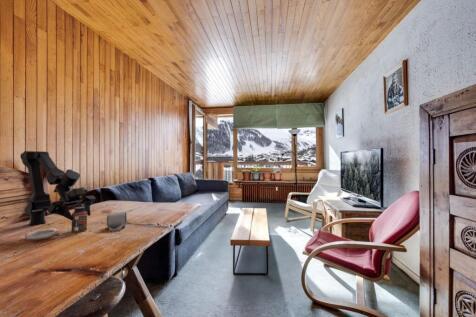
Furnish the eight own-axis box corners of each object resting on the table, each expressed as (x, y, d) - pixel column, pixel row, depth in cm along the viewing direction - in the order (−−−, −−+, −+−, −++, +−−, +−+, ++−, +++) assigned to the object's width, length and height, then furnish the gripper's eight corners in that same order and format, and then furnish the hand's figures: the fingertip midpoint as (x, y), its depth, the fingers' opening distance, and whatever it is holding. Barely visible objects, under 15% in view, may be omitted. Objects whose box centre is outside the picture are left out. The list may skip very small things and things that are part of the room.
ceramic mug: (109, 225, 109) (109, 211, 109) (126, 224, 112) (126, 209, 112) (104, 232, 99) (104, 216, 99) (124, 230, 103) (124, 215, 102)
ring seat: (25, 235, 95) (25, 231, 95) (57, 230, 103) (57, 226, 103) (24, 242, 87) (24, 238, 87) (59, 236, 94) (59, 232, 94)
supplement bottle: (78, 233, 98) (78, 209, 98) (68, 232, 99) (68, 208, 99) (90, 229, 104) (90, 206, 104) (80, 228, 105) (80, 205, 105)
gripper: (51, 184, 94) (67, 210, 90) (93, 180, 112) (108, 202, 108) (40, 200, 97) (55, 227, 93) (82, 194, 114) (97, 216, 110)
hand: (81, 217), depth 101 cm, fingers open, 8 cm apart
